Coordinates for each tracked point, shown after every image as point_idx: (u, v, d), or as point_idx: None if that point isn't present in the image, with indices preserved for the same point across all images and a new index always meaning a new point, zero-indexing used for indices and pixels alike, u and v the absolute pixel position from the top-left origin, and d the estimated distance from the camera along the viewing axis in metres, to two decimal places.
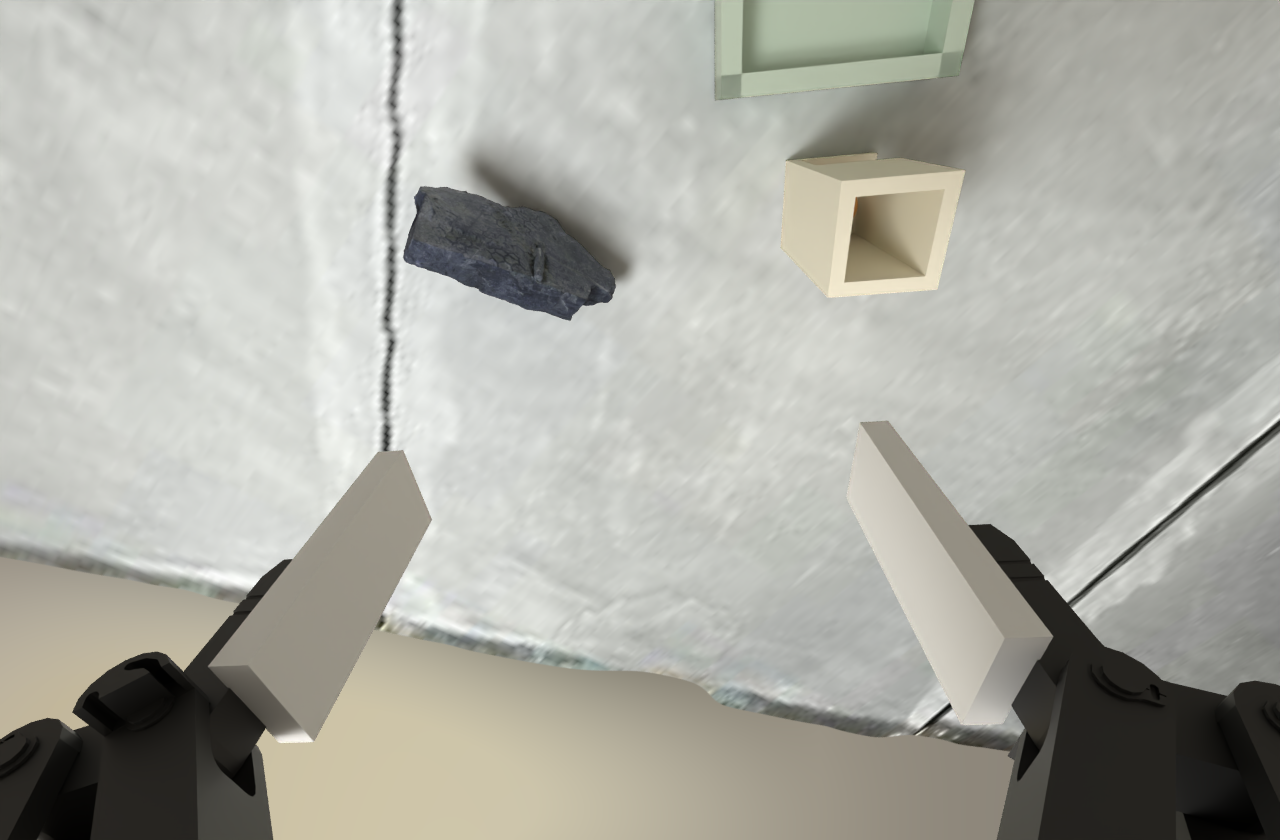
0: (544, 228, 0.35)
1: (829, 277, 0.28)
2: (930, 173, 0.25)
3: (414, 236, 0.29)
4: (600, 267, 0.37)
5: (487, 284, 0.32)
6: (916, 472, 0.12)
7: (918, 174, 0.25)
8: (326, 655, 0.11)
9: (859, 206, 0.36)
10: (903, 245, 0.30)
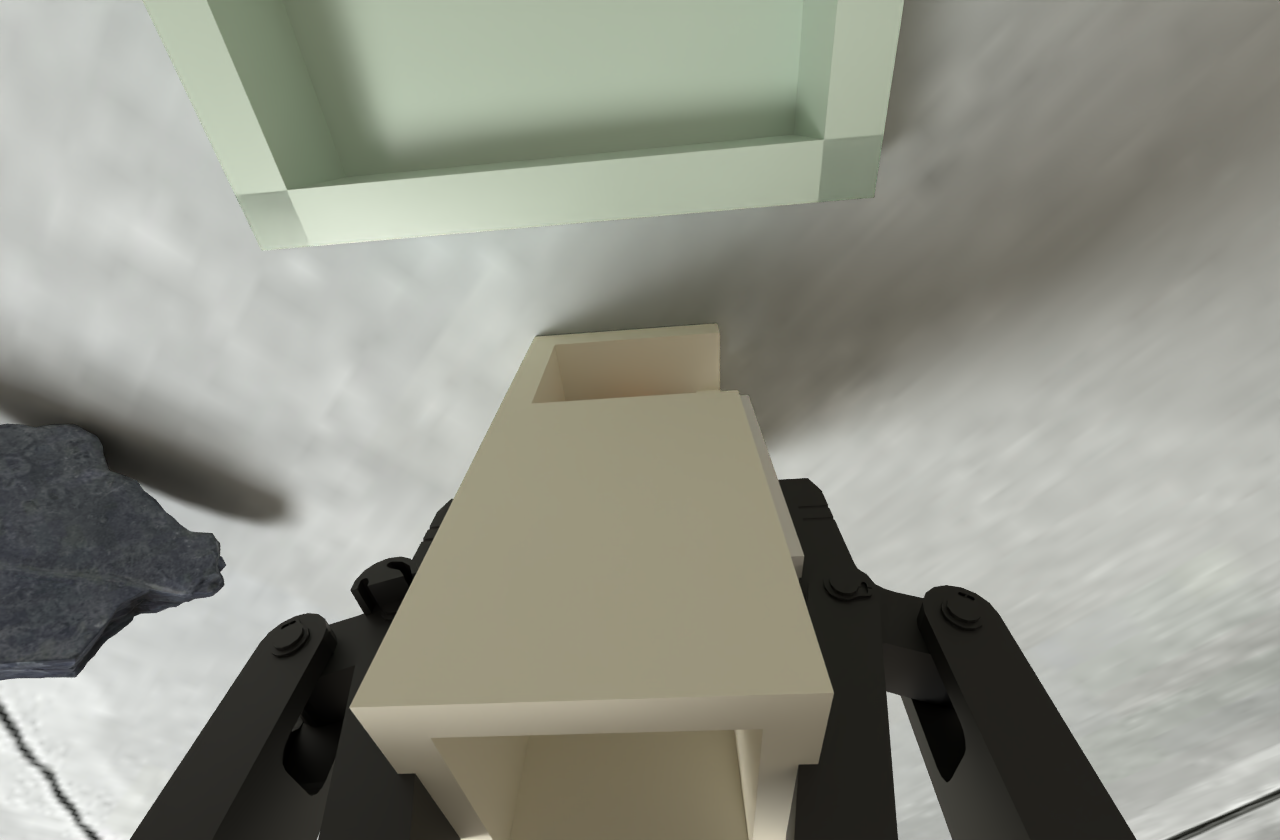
0: (32, 474, 0.17)
1: None
2: (695, 690, 0.06)
3: None
4: (180, 536, 0.18)
5: None
6: (753, 436, 0.13)
7: (647, 694, 0.06)
8: None
9: None
10: None
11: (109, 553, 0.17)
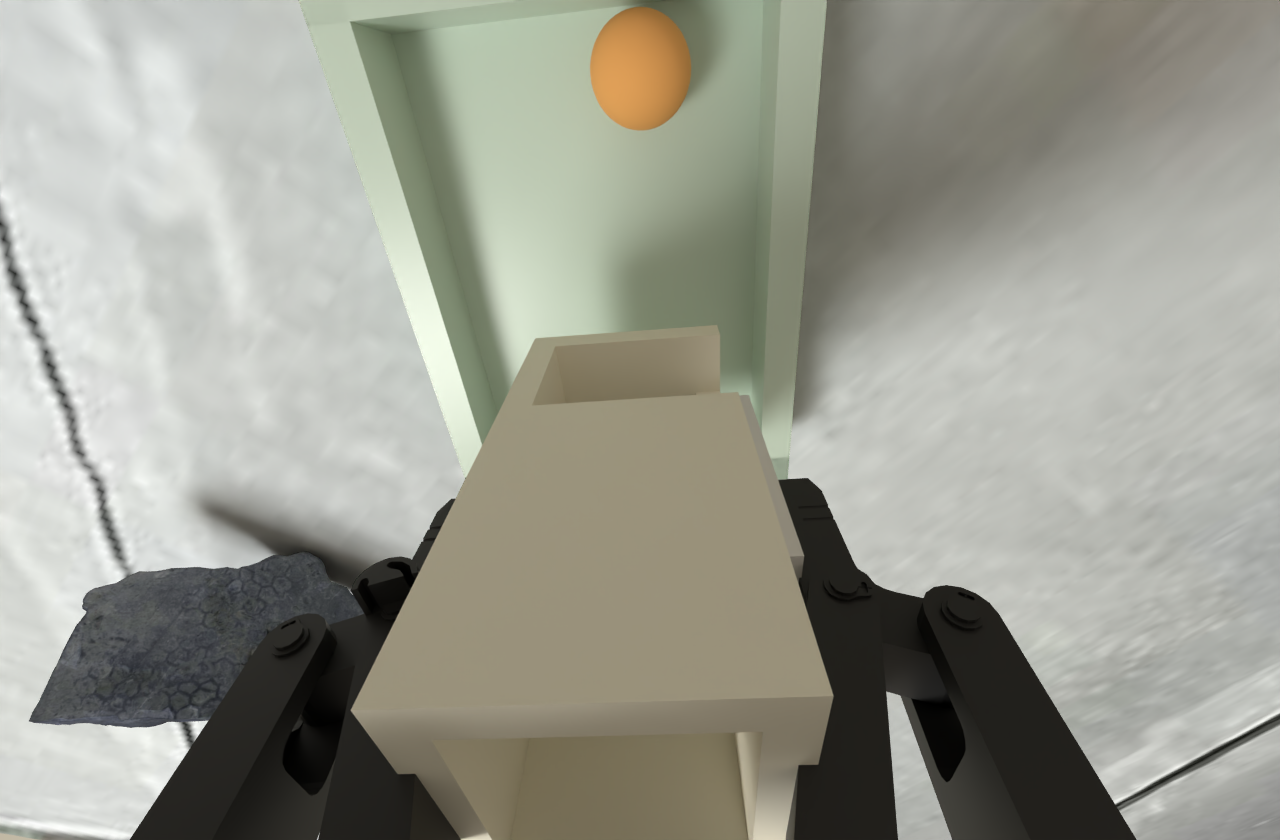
0: (293, 588, 0.28)
1: None
2: (696, 693, 0.06)
3: (32, 715, 0.21)
4: None
5: (178, 718, 0.24)
6: (753, 436, 0.13)
7: (647, 697, 0.06)
8: None
9: None
10: None
11: None
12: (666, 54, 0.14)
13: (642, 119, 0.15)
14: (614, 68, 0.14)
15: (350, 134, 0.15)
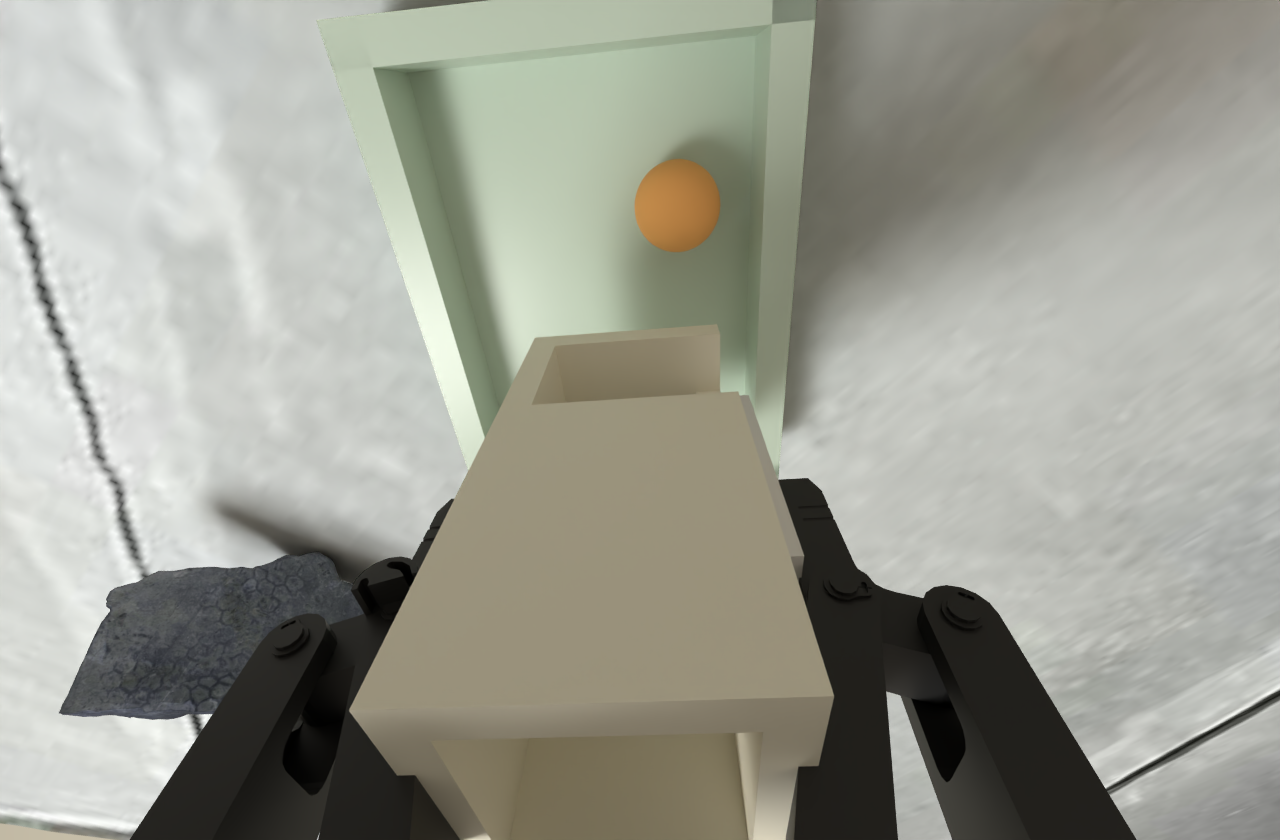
0: (305, 587, 0.29)
1: None
2: (695, 694, 0.06)
3: (62, 707, 0.22)
4: None
5: None
6: (753, 435, 0.13)
7: (647, 697, 0.06)
8: None
9: None
10: None
11: None
12: None
13: None
14: None
15: (371, 168, 0.16)
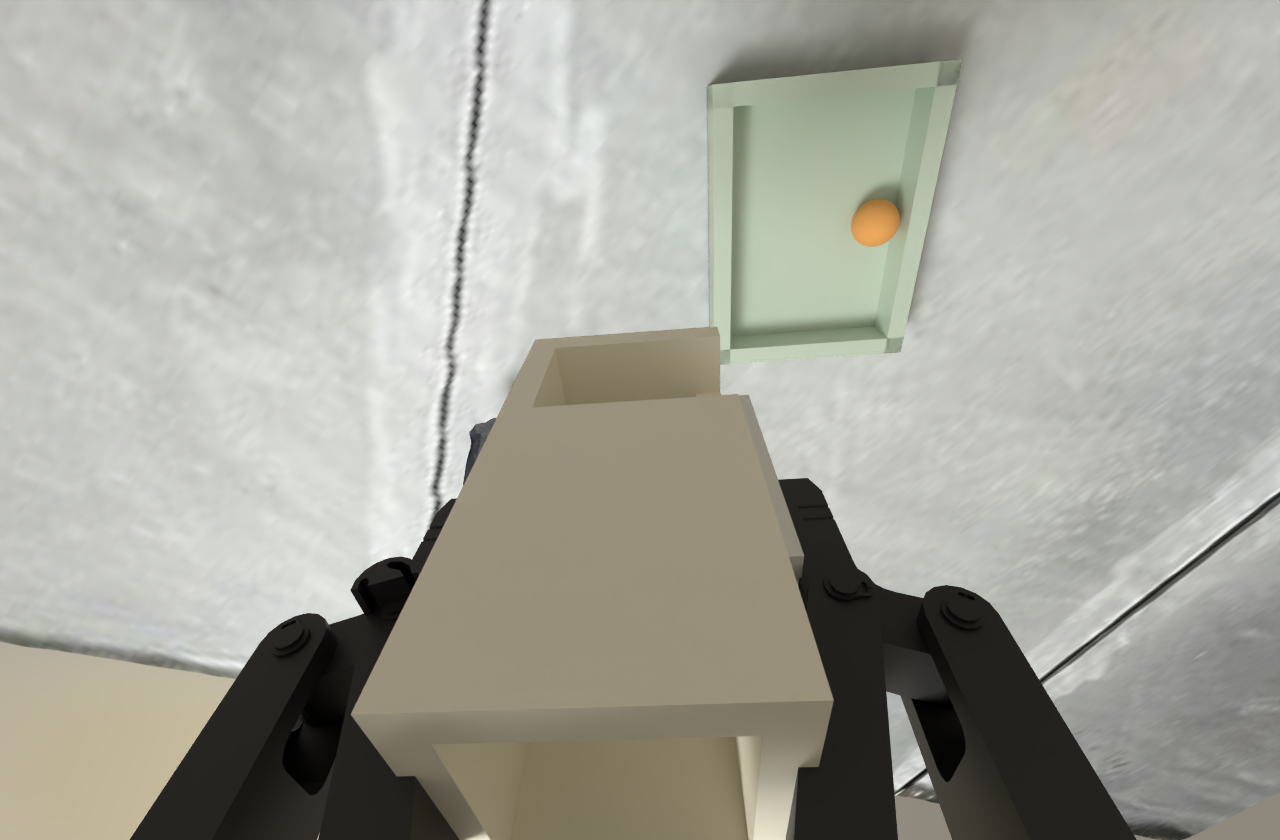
0: None
1: None
2: (696, 698, 0.06)
3: None
4: None
5: None
6: (753, 436, 0.13)
7: (648, 701, 0.06)
8: None
9: None
10: None
11: None
12: None
13: (865, 206, 0.33)
14: None
15: (715, 157, 0.31)
